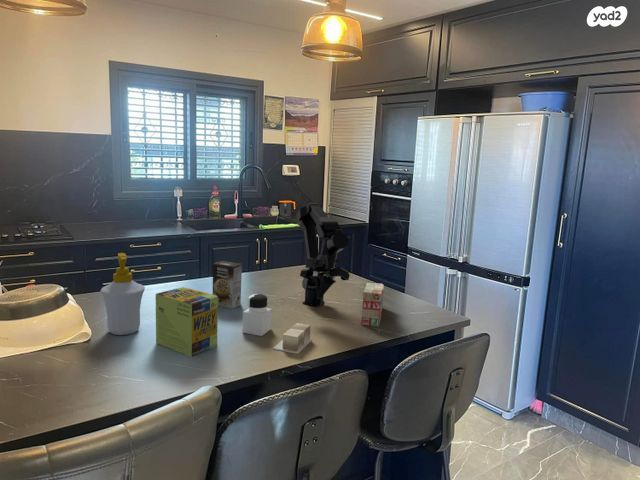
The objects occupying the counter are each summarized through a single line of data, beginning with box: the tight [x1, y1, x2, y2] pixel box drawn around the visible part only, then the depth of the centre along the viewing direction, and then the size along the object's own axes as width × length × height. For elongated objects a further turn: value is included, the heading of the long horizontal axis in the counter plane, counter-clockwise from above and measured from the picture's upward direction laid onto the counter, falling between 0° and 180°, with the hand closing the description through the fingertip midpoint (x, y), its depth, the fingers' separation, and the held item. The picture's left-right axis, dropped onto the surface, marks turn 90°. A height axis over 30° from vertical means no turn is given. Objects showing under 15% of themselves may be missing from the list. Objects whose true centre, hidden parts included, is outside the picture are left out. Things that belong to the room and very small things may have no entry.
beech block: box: [282, 322, 312, 352], centre depth 144 cm, size 4×4×11 cm
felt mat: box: [272, 338, 312, 355], centre depth 144 cm, size 11×8×1 cm
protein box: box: [155, 286, 219, 357], centre depth 139 cm, size 10×15×16 cm
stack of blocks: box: [361, 282, 385, 327], centre depth 173 cm, size 21×6×12 cm, turn 169°
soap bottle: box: [100, 252, 146, 336], centre depth 146 cm, size 13×13×25 cm
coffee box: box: [212, 260, 243, 310], centre depth 176 cm, size 9×6×16 cm
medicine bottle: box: [242, 293, 273, 337], centre depth 153 cm, size 7×7×12 cm
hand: (318, 298), depth 160 cm, fingers closed
